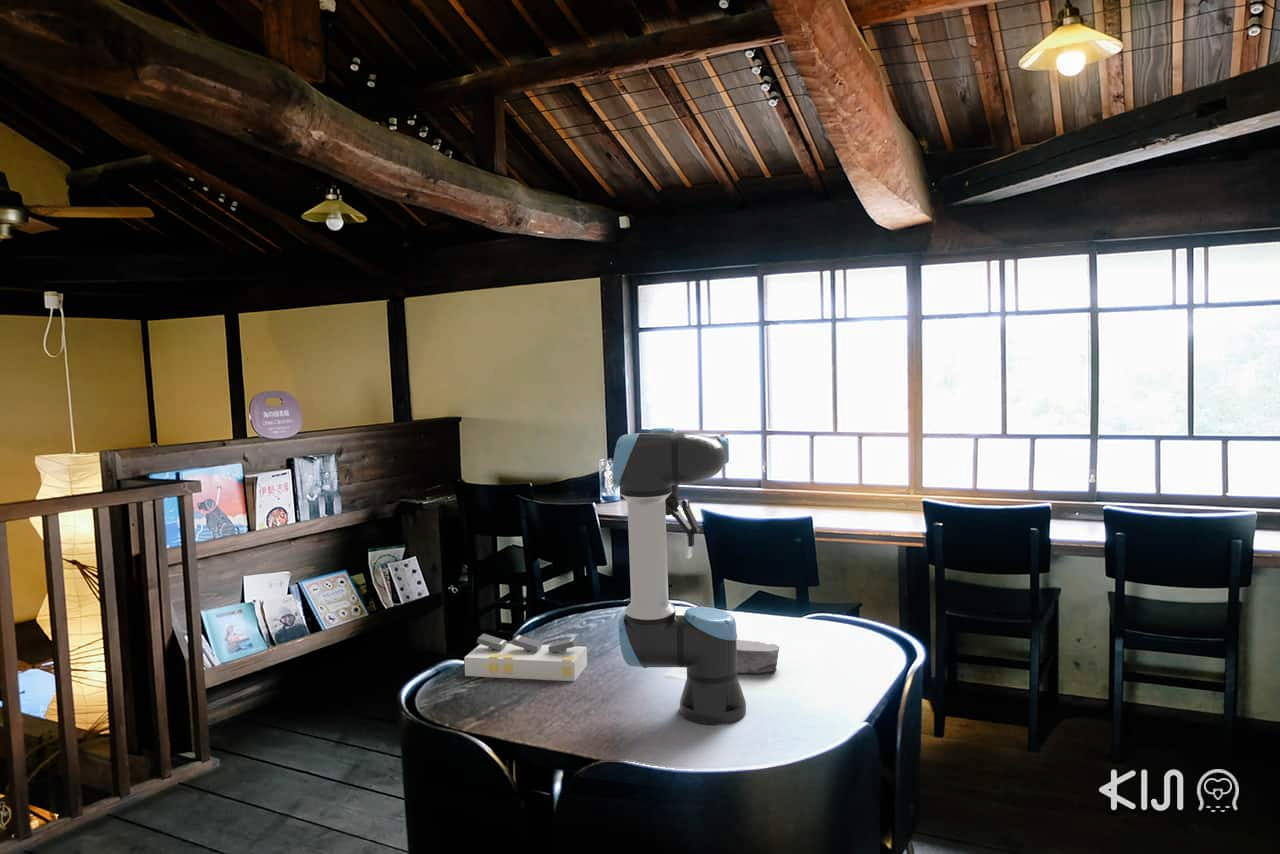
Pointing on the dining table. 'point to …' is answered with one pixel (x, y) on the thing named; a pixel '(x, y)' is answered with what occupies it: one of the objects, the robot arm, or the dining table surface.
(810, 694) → the dining table surface
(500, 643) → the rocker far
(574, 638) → the rocker near
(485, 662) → the switch console
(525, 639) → the rocker middle
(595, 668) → the dining table surface
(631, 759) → the dining table surface
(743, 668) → the decorative stone
